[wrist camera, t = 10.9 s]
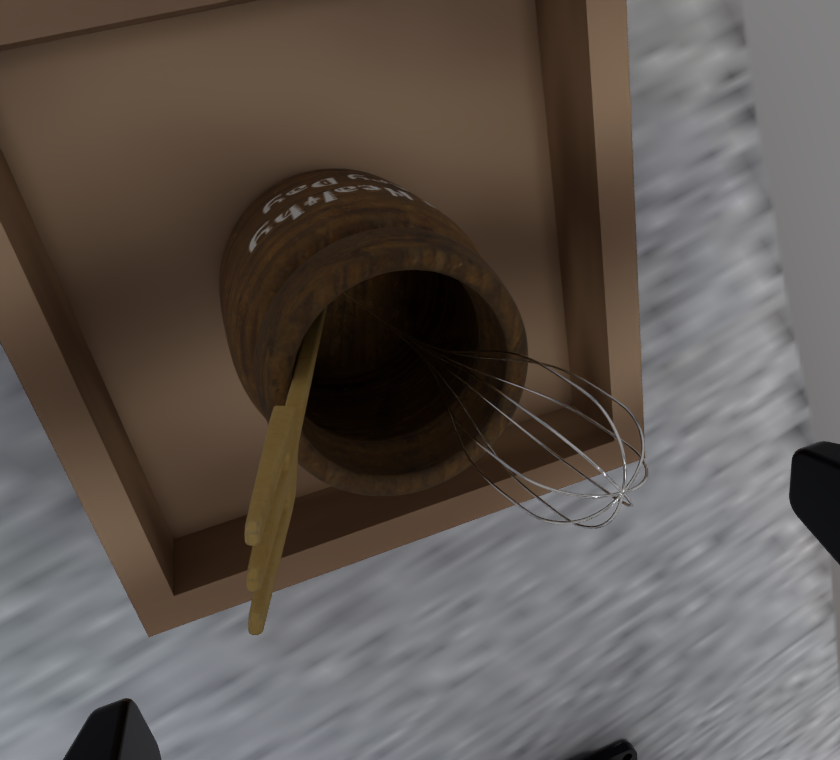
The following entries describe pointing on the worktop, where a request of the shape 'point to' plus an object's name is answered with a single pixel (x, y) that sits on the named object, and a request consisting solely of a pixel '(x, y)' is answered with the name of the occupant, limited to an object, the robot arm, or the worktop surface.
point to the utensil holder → (371, 352)
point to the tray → (238, 188)
